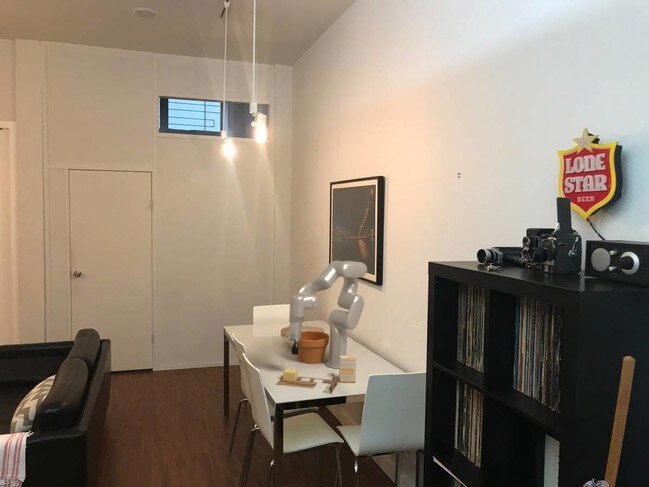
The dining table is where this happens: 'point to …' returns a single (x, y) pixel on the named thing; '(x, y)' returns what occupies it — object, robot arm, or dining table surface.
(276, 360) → the dining table surface
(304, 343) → the flower pot
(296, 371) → the ochre block
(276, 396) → the dining table surface
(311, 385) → the trap board
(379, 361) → the dining table surface
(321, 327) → the dining table surface
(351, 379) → the supplement box
